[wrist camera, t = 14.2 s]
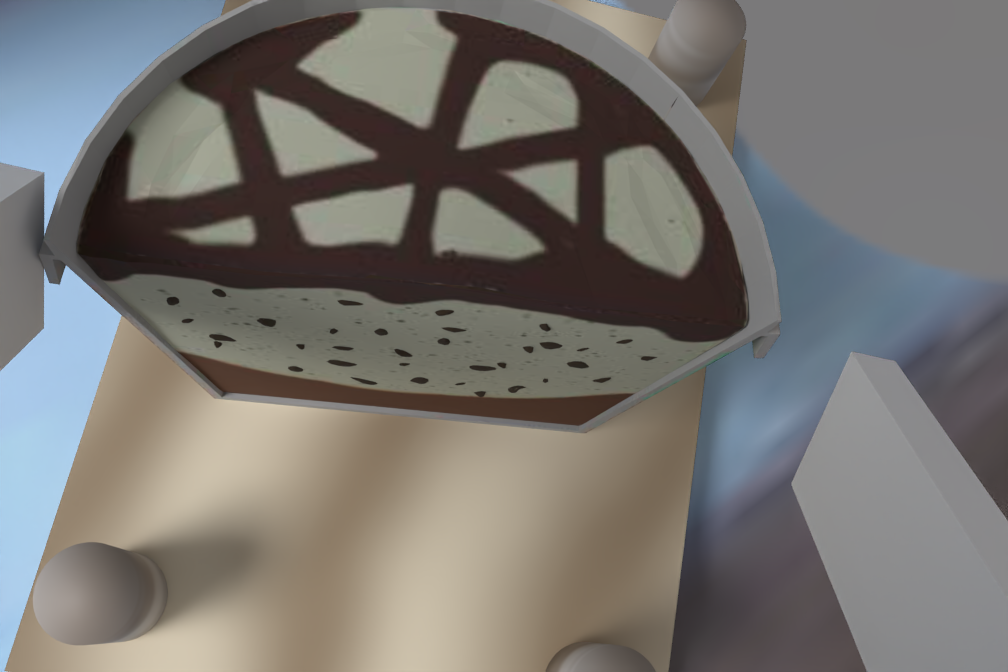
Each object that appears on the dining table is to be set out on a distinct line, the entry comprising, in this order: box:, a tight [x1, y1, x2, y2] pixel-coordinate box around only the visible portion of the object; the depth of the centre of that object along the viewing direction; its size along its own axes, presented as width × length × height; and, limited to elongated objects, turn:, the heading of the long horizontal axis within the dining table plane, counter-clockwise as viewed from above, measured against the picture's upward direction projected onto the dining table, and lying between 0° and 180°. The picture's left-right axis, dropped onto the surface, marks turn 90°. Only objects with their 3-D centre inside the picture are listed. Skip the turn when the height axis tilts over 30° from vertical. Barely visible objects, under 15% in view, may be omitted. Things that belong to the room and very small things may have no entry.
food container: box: [39, 0, 781, 433], centre depth 20 cm, size 12×6×10 cm, turn 86°
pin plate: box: [5, 0, 746, 672], centre depth 24 cm, size 15×21×4 cm
